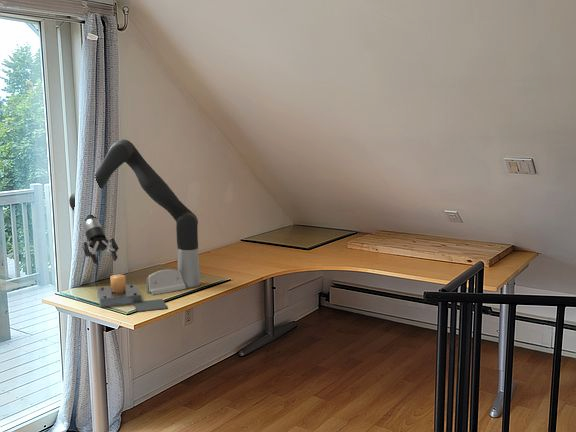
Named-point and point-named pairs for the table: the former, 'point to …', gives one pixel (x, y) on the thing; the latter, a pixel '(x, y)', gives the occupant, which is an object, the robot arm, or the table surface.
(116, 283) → the wooden block
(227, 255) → the table surface
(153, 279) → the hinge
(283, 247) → the table surface
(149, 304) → the mat
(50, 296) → the table surface
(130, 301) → the housing
